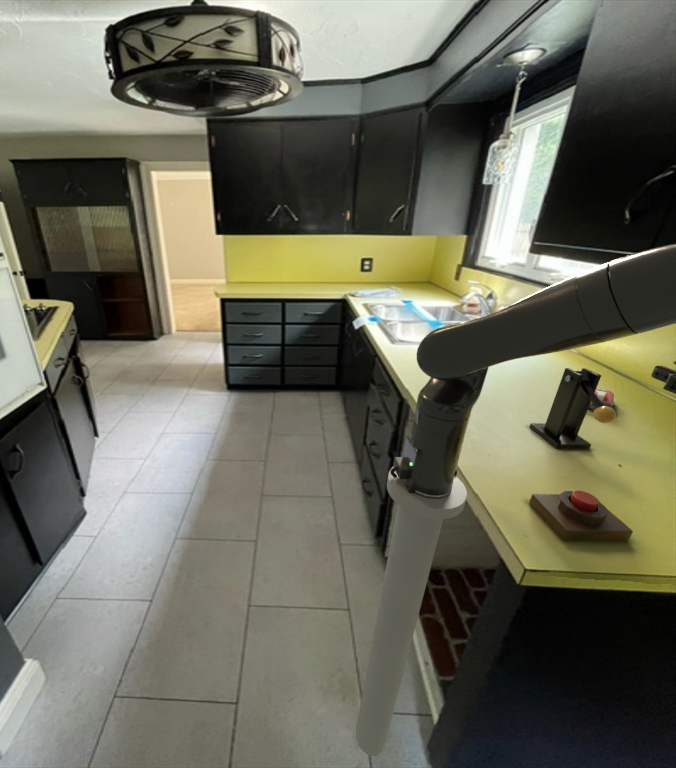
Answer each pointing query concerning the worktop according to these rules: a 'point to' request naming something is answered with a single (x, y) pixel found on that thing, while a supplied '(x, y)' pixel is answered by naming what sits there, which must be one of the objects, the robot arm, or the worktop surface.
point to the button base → (579, 519)
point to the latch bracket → (568, 412)
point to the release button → (584, 501)
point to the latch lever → (596, 401)
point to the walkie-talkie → (603, 398)
